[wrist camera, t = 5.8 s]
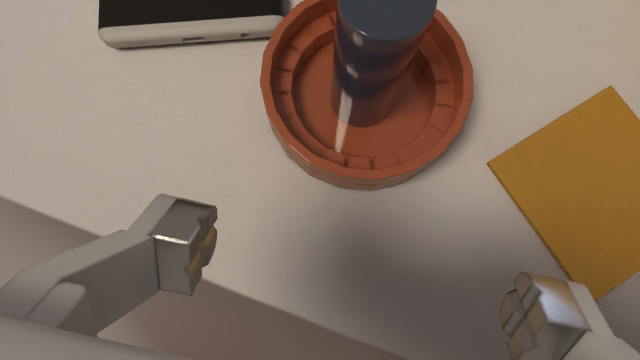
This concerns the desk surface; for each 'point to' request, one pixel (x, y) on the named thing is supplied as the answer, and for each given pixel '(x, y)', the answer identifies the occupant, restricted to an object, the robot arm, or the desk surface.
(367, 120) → the dark gray cylinder
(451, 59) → the bowl
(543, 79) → the desk surface
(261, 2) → the tablet
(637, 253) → the napkin
